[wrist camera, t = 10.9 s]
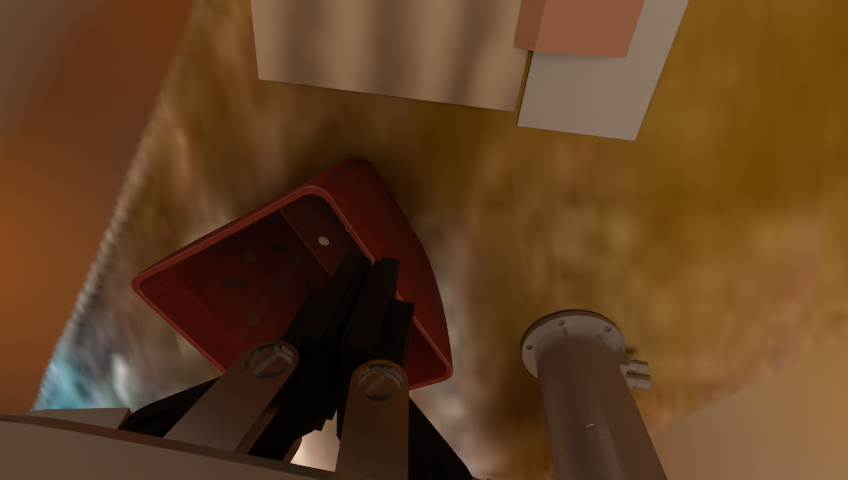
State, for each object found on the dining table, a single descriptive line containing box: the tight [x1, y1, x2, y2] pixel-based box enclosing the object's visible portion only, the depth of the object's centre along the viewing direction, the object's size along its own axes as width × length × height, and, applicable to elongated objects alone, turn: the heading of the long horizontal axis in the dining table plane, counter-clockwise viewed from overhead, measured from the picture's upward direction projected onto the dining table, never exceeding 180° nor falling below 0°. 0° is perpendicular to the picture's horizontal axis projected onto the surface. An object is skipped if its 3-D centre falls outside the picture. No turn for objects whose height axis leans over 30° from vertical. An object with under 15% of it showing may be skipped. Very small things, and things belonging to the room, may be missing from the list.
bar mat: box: [517, 0, 689, 141], centre depth 33 cm, size 11×18×1 cm, turn 174°
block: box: [515, 0, 645, 58], centre depth 29 cm, size 9×6×2 cm, turn 84°
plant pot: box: [131, 159, 453, 411], centre depth 38 cm, size 19×19×17 cm
